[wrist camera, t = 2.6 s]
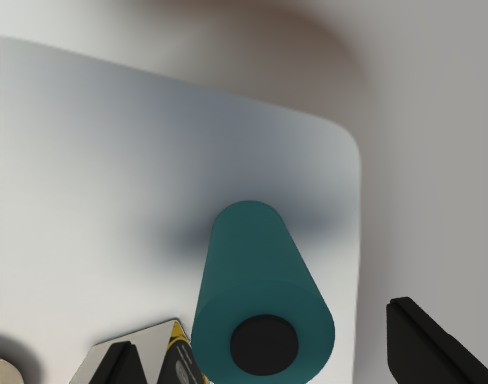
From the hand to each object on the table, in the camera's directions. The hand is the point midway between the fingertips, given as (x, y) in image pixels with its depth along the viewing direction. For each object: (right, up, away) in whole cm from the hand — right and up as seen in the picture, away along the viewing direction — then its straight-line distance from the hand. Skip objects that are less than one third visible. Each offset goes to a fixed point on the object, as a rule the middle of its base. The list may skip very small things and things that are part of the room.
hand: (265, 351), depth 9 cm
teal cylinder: (0, +3, +8) cm, 9 cm away
